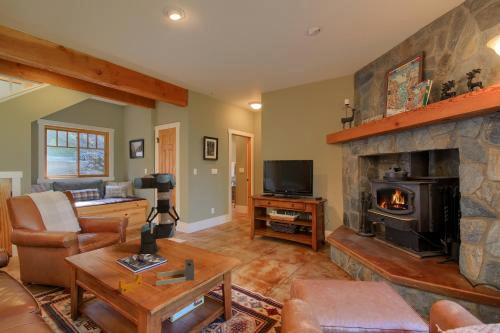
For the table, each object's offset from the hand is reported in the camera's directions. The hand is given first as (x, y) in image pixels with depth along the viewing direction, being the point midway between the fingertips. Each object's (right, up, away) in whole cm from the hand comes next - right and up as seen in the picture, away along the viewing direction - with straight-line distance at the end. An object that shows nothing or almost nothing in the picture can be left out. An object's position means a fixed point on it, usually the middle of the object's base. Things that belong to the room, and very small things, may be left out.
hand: (163, 232), depth 151 cm
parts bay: (+5, -29, -2) cm, 30 cm away
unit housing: (+16, -29, +2) cm, 34 cm away
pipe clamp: (-14, -30, -13) cm, 35 cm away
